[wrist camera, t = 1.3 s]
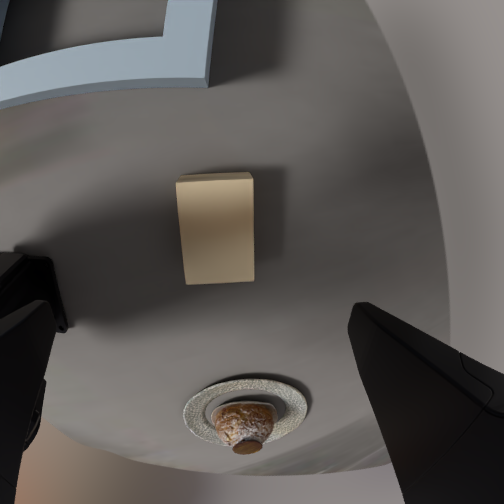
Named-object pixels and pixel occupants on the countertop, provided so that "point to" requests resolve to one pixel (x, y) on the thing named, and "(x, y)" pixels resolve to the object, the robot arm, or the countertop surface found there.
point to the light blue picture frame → (119, 60)
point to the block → (216, 227)
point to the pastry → (245, 415)
